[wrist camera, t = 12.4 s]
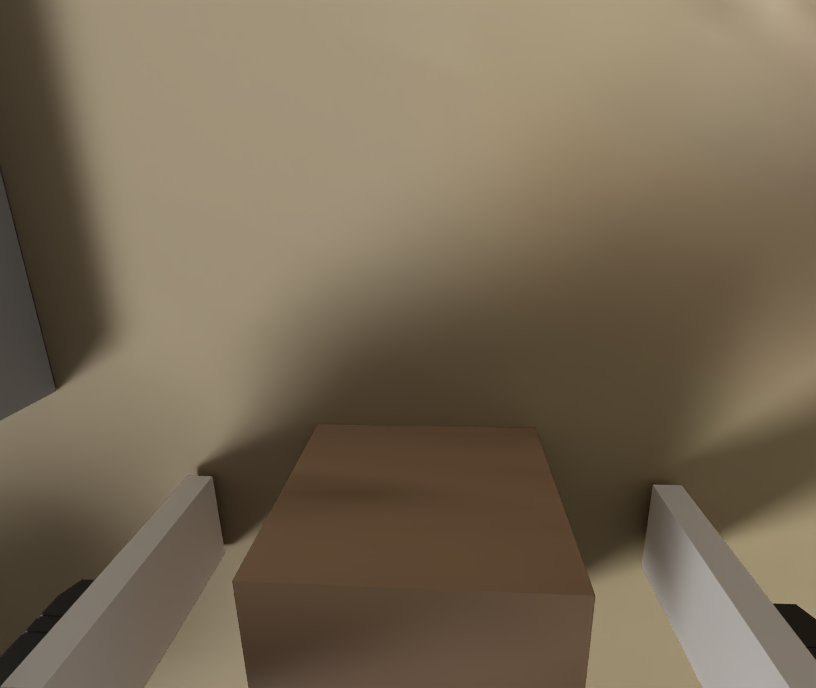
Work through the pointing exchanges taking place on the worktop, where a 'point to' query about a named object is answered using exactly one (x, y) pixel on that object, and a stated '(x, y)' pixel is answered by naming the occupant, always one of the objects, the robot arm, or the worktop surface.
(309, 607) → the walnut block
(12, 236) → the plinth
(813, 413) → the worktop surface
